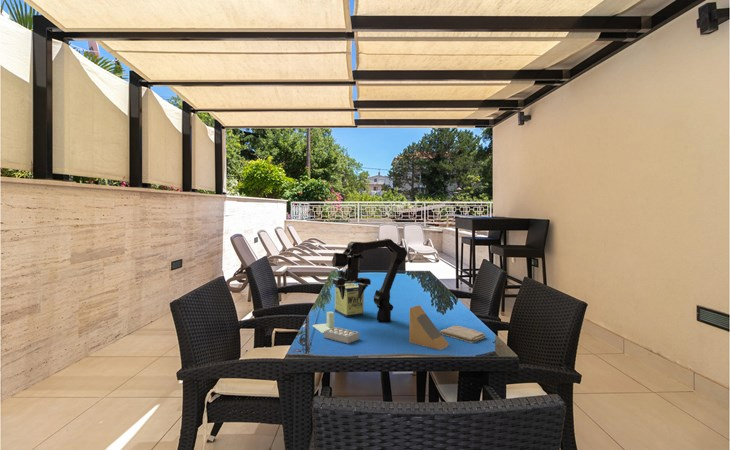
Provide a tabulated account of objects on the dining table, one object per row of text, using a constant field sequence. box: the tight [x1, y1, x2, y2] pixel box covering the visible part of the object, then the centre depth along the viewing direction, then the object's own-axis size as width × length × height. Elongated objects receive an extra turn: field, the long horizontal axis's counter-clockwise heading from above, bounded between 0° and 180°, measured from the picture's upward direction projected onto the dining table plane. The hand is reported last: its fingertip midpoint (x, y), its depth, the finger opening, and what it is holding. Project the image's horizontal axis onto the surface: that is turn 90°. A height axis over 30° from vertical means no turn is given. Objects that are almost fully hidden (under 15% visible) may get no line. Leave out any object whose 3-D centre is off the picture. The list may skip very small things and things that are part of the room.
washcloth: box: [439, 325, 487, 344], centre depth 176 cm, size 12×18×3 cm, turn 44°
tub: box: [323, 326, 360, 345], centre depth 169 cm, size 8×13×3 cm, turn 55°
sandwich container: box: [408, 304, 450, 351], centre depth 164 cm, size 9×15×15 cm, turn 52°
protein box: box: [334, 283, 365, 319], centre depth 213 cm, size 10×16×16 cm
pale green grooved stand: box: [311, 310, 335, 335], centre depth 183 cm, size 8×13×8 cm, turn 28°
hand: (350, 298), depth 191 cm, fingers open, 9 cm apart
